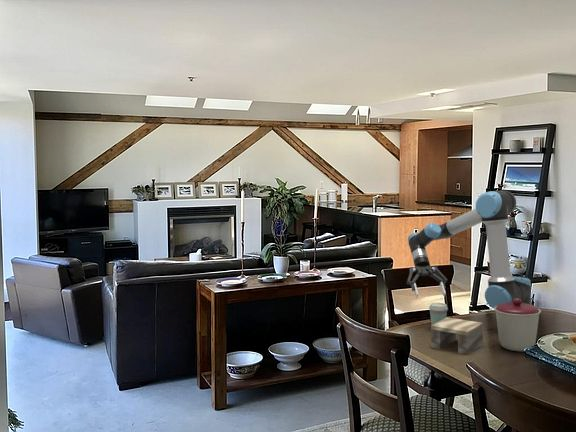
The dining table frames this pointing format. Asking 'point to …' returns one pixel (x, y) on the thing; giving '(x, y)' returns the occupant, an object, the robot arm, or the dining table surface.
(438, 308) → the coffee cup
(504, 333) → the canister
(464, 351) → the shelf
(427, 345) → the dining table surface
